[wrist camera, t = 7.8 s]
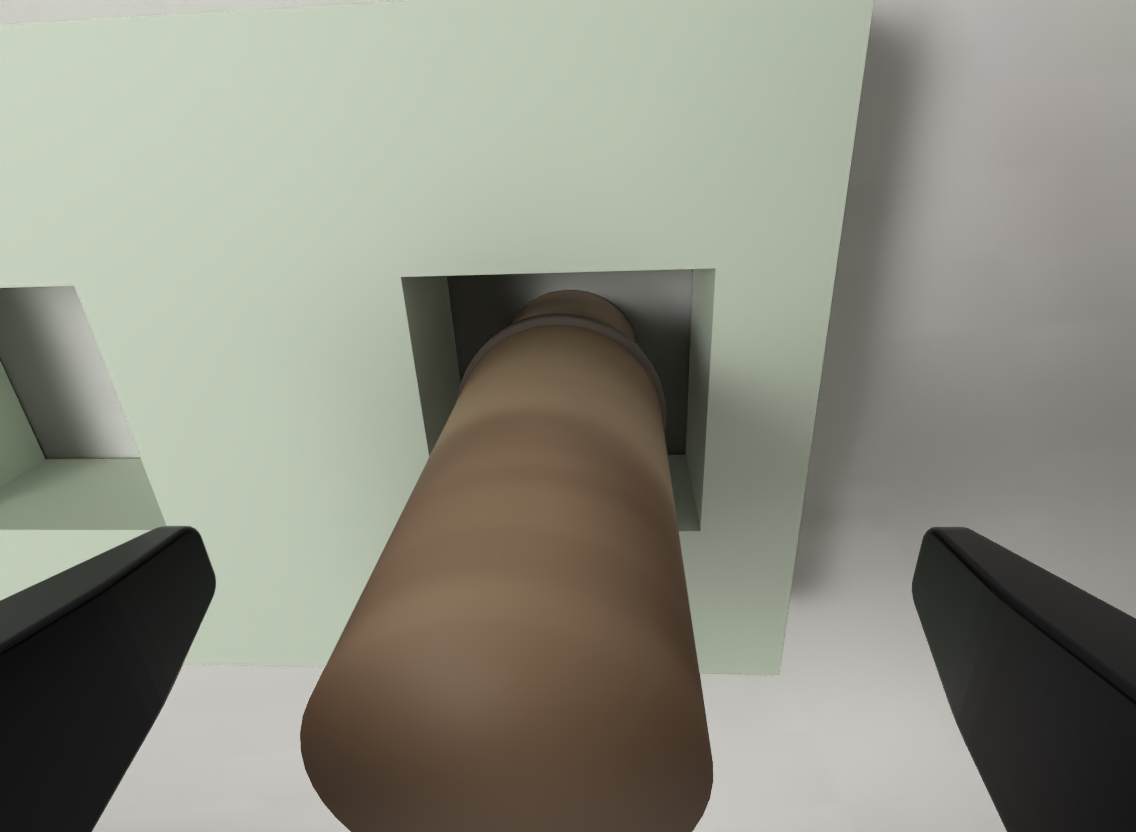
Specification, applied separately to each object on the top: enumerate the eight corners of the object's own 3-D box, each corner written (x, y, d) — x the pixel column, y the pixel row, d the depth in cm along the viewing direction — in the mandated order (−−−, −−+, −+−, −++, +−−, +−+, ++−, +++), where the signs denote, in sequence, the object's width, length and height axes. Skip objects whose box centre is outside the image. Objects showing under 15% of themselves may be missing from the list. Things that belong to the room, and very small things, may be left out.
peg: (654, 430, 15) (712, 906, 6) (494, 431, 16) (336, 889, 7) (657, 269, 14) (742, 612, 5) (477, 273, 14) (237, 606, 5)
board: (815, -1, 11) (877, -28, 9) (753, 583, 17) (778, 675, 15) (-231, 58, 13) (-453, 50, 10) (37, 577, 19) (-60, 660, 16)
